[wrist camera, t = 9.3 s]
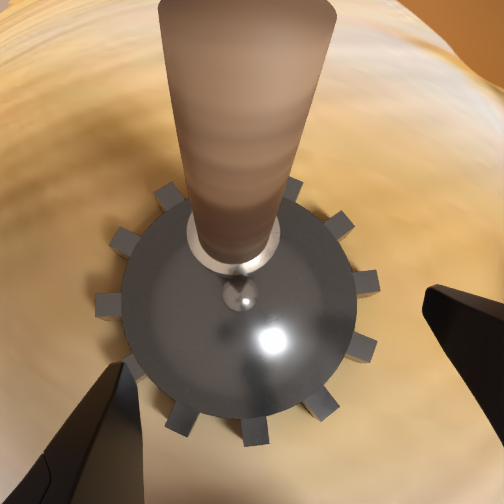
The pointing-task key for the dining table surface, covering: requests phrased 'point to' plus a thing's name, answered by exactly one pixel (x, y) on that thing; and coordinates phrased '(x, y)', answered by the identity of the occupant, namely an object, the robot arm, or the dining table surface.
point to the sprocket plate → (239, 316)
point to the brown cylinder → (241, 108)
